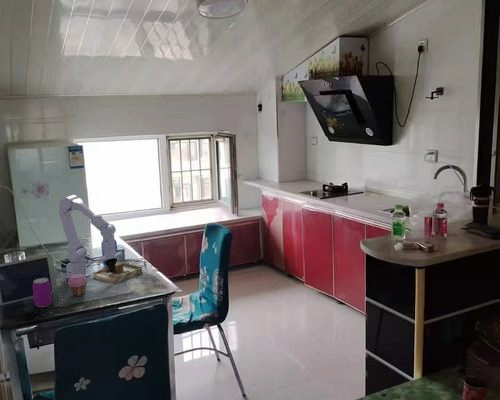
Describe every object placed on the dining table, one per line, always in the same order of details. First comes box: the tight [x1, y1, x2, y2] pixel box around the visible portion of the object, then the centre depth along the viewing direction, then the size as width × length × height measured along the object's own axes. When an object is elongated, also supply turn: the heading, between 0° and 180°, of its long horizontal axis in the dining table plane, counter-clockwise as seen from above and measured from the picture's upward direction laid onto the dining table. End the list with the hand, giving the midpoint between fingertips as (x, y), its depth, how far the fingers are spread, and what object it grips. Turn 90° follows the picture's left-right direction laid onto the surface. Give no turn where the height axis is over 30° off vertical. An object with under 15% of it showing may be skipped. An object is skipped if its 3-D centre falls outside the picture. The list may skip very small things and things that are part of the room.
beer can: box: [101, 237, 118, 268], centre depth 286 cm, size 8×8×16 cm
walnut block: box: [113, 261, 124, 274], centre depth 269 cm, size 4×4×4 cm
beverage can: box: [32, 277, 53, 308], centre depth 232 cm, size 8×8×12 cm
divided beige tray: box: [92, 261, 143, 285], centre depth 270 cm, size 20×16×4 cm
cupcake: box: [67, 274, 88, 297], centre depth 244 cm, size 9×9×10 cm
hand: (111, 272), depth 266 cm, fingers closed
